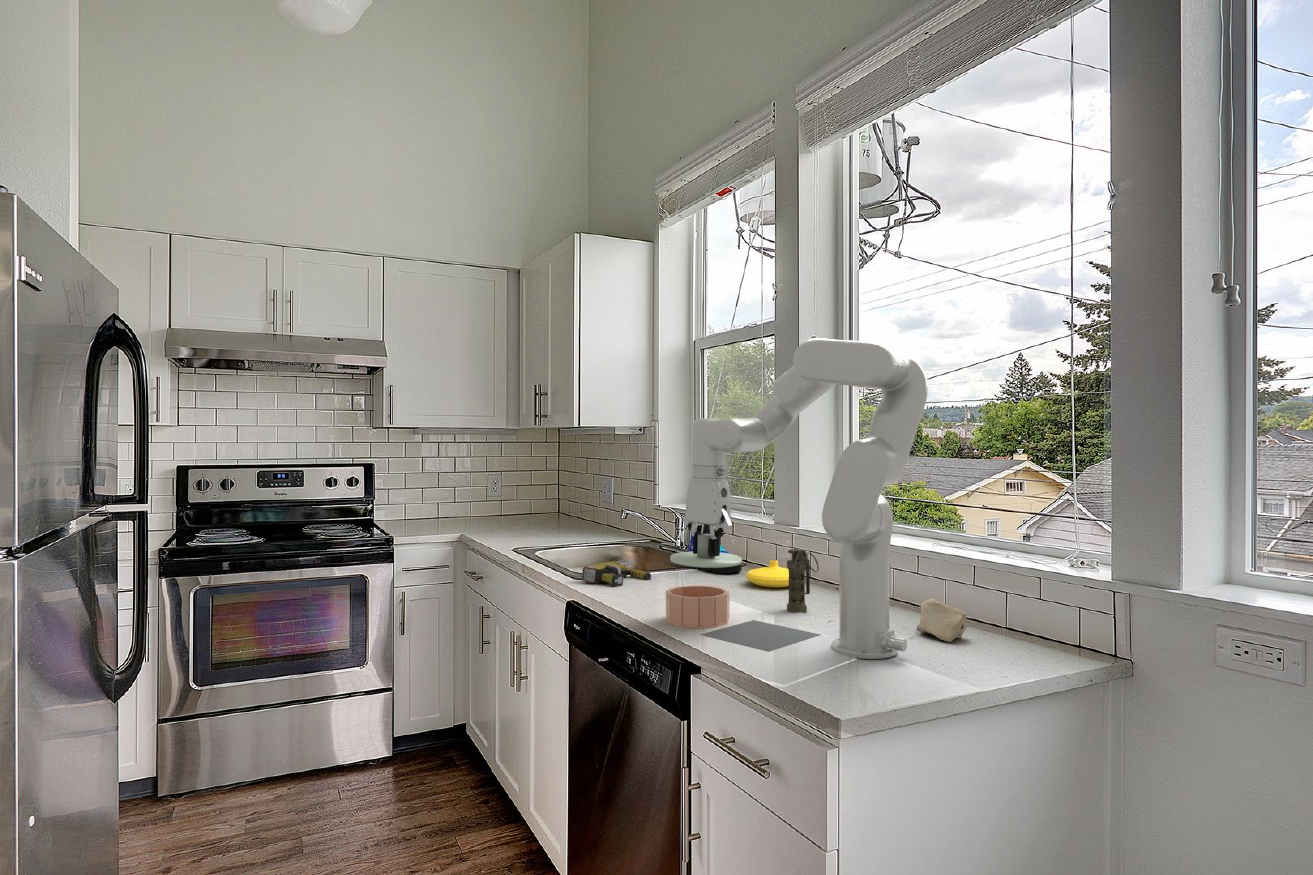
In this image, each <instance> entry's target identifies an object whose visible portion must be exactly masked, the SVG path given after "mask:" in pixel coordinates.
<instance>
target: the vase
mask: <svg viewBox="0 0 1313 875" xmlns="http://www.w3.org/2000/svg"><path fill="white" fill-rule="evenodd" d="M745 578H746V579H747V580H748V581H749V582H751V583H752V584H754V585H756V586H759V587H766V588H776V589H777V588H787V587H789V570H788V568H787V567H780V566H779V562H778V560H777V559H771V560H769V566H764V567H758V568H753V569H750V570H748V571H747V572H746V573H745Z"/></svg>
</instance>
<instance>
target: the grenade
mask: <svg viewBox="0 0 1313 875" xmlns="http://www.w3.org/2000/svg"><path fill="white" fill-rule="evenodd" d="M787 553H788V554H791V559H788V560H787V561H786V568H787V569H788V570H789V586H788V602H787V603H786V610H787V612H788V613H789V612H791V613H799V614H800V613H801V614H802V613H803V614H806V613H807V612H808V608H807V607H808V606H807V604H806V598H805V595H810V593H811V592H810V591H811V588H810V586H811V585H810V584H811V581H810V580H811V579H810V576H811V575H810V572H811V570H812V571H813V572H814V573H817V572H819V569H820V568H819V562H818V560H817V558H816V556H815V555H814V554H813V553H811V552H806V550H805V549H804V548H803V549H801V548H793V549H792V548H791V549H789V550H788V551H787ZM808 555H811V556H812V558H813V559H814V561H815V564H816V570H815V569H813V567H812V566H811V564H810V559H809V558H808Z"/></svg>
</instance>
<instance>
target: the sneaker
mask: <svg viewBox="0 0 1313 875" xmlns="http://www.w3.org/2000/svg"><path fill="white" fill-rule="evenodd" d="M697 526H698V525H697ZM702 534H710V526H709V525H706V524H704V527H703V533H702ZM690 551H693V536H692V535H691V534H690V541H689V546H688V552H690ZM720 552H721V553H728V554H730V553H729V552H728V551H727V550H726V549H725V547H724V546H723V545H721V544H720ZM686 567H688V568H690V569H692V570H700V571H701V572H704V573H706V574H713V575H715V574H716V575H721V574H722V575H723V574H731V573H740V572H742V567H743V566H742V563H741V564H740V565H737V566H732V567H722V568H703V567H691V566H686Z"/></svg>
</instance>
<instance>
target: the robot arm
mask: <svg viewBox="0 0 1313 875" xmlns="http://www.w3.org/2000/svg"><path fill="white" fill-rule="evenodd" d="M792 358H793V359H792V364H793V365H792V366H791V368H788V370H786V371H785V372H784V373H782V374H781V375H780V376H779V377H777V378H776V379H774V381H773V383H772V389H771V390H772V393H773V397H772V398H771V400H770V401H769V403H767V404H766V405H765V406H764V407H763V408H762V409H761V410H759V411H758V412H757V413H756V414H754V415H753V416H751V417H750V418H749V417H745V418H744V417H729V418H728V417H727V418H723V419H721V418H703V417H702V418H696V419H695V420H694V421H693V423H692V429H691V431H692V432H691V435H692V436H691V437H692V438H691V472H690V473H691V474H690V475H691V476H690V477H691V478H689V481H688V486H687V491H686V492H687V493H686V500H685V501H686V502H685V514H684V516H683V518H682V522H683V523H684V525H686V526H687V528H688V530H689V531H690V536H691V535H692V536H693V554H697V544H698V534H702V533H703V527H704V524H706V525H709V526H710V534H711V539H709V546H708V556H709V557H715V556H719V555H720V545H721V539H722V538H723V537H724V535H725V534H726V533H727V532H728V531H730V530H731V529H732V528H733V524H732V522H731V520H732V518H731V517H732V510H731V509H732V508H731V506H732V505H731V504H732V503H731V494H730V487H729V486H730V485H729V482H728V479H727V480H725V478H726V477H727V476H728V469H726V453H733V454H735V453H752V452H757V451H760V450H762V449H764V448H766V447H767V446H768V445H770V444H772V443H773V442H774V441H775V440H777V439H778V438H779V437H781V436H782V435H783V434H784V433H785V432H786V431H787V430H788V429H790V428H791V426H792V425H793V423H794V422H795V421H796V420H797V419H798V417H799V414H800V413H801V412H803V411H804V410H805V409H806V408H808V407H809V406H810V405H811V404H813V403H814V402H815V401H816V400H818V399H819V398H821V397H822V396H823V395H824V394H826V393H827V392H828V391H830V390H831V389H833V388H834V387H835V386H836V385H839V386H848V387H857V388H867V389H875V390H881V391H882V396H881V400H880V401H879V403H878V404H877V406H876V409H875V410H874V413H873V416H872V420H871V424H870V426H869V428H868V431H867V434H866V436H865V438H860V439H857V440H855V441H853V442H851V443H850V444H849V445H847V447H846V448H845V449H844V450H843V452H842V453H841V455H840V456H839V459H838V461H837V463H836V466H835V469H834V473H833V475H832V478H831V482H830V484H829V487H828V491H827V494H826V497H825V500H824V502H823V507H822V511H821V512H822V513H821V522H822V523H821V524H822V526H823V529H824V531H825V533H826V535H828V537H829V538H831V539H832V540H833V541H835V542H836V543H840V549H839V550H840V551H839V571H838V572H839V638H836V639H834V640H833V641H832V642H831V649H832V650H833V651H834V652H836V653H839V654H841V655H844V656H849V657H855V659H864V660H880V659H888V658H892V657H894V656H896V655H897V654H898V652H903V653H904V652H906V650H907V648H908V640H907V639H906V638H900V637H896V635H895V629H893V628H890V554H891V553H890V552H891V543H892V542H891V539H892V534H893V526H894V521H893V520H894V519H893V518H894V517H893V516H894V515H893V509H892V507H891V505H890V503H889V501H888V500H887V499H886V497H885V496H883V495H882V491H883V488H885V487H886V488H887V487H890V486H892V485H894V484H896V483H897V482H898V481H899V480H900V479H901V478H902V476H903V474H904V471H905V469H906V464H907V462H908V459H909V456H910V453H911V450H912V447H913V444H914V441H915V437H916V434H917V430H918V427H919V425H920V421H921V419H922V415H923V413H924V410H925V407H926V404H927V403H926V402H927V400H928V399H927V398H928V380H927V377H926V374H925V371H924V369H923V368H922V366H921V365H920V364H919V362H918V361H917V359H915V358H914V357H913V356H912V355H911V354H910V353H908V352H907V351H905V350H903V349H901V348H899V347H895V346H892V345H887V344H883V343H879V342H873V341H861V340H845V339H844V340H843V339H833V338H831V339H830V338H821V337H814V338H809V339H807V340H805V341H804V342H802V343H801V344H799V346H798V347H797V348H796V350H795V351H794V354H793V357H792ZM697 525H698V526H697Z"/></svg>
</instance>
